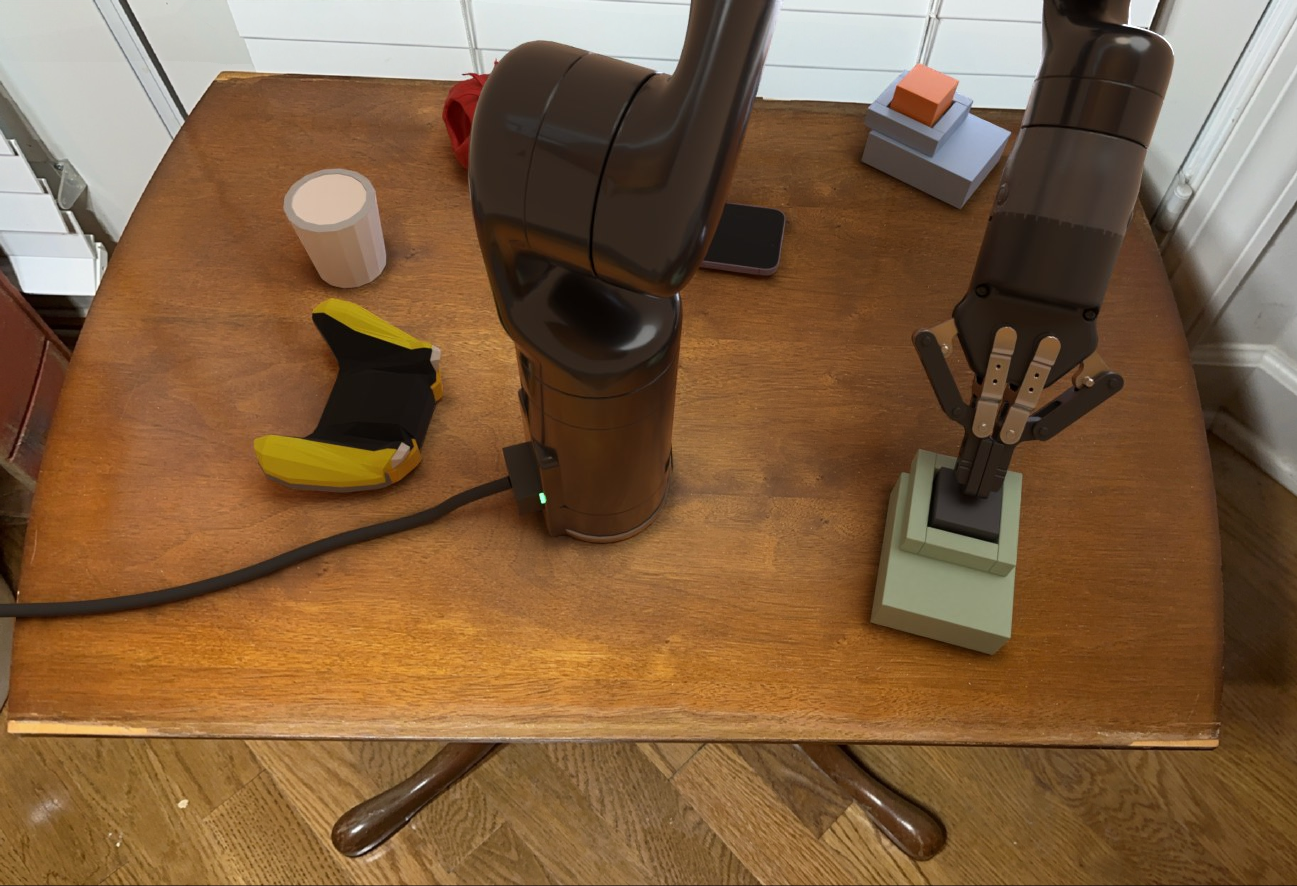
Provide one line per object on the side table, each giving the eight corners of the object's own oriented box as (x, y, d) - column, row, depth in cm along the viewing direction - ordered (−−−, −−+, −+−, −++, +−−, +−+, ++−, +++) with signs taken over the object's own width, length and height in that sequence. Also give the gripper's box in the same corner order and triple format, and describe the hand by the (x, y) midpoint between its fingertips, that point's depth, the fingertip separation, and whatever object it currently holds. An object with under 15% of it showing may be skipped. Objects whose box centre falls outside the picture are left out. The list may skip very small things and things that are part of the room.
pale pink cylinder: (386, 224, 78) (367, 159, 72) (401, 283, 74) (382, 220, 68) (304, 242, 76) (277, 177, 71) (315, 302, 73) (288, 239, 67)
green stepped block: (992, 655, 59) (1021, 627, 55) (869, 622, 60) (889, 593, 56) (1004, 510, 65) (1031, 475, 61) (891, 483, 66) (910, 446, 61)
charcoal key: (985, 551, 59) (999, 534, 57) (923, 536, 60) (935, 518, 58) (989, 499, 62) (1003, 480, 59) (930, 485, 62) (941, 465, 60)
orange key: (950, 105, 81) (959, 80, 79) (929, 129, 79) (938, 104, 77) (910, 87, 82) (918, 62, 80) (888, 110, 80) (896, 85, 78)
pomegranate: (492, 107, 86) (479, 15, 78) (582, 144, 84) (578, 54, 76) (428, 169, 81) (407, 78, 74) (521, 210, 79) (510, 121, 71)
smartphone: (615, 187, 80) (787, 209, 78) (615, 197, 81) (785, 219, 79) (597, 247, 76) (777, 272, 74) (598, 257, 77) (776, 281, 75)
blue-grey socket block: (999, 160, 84) (1019, 115, 80) (960, 209, 81) (979, 165, 76) (893, 111, 87) (907, 65, 83) (851, 157, 84) (864, 111, 80)
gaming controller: (265, 500, 64) (404, 521, 63) (236, 459, 59) (387, 482, 58) (336, 333, 72) (461, 350, 71) (316, 285, 67) (450, 303, 66)
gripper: (1149, 243, 57) (1062, 503, 61) (937, 199, 59) (865, 456, 63) (1199, 242, 50) (1096, 537, 54) (955, 192, 51) (873, 482, 55)
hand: (972, 493), depth 58 cm, fingers closed
